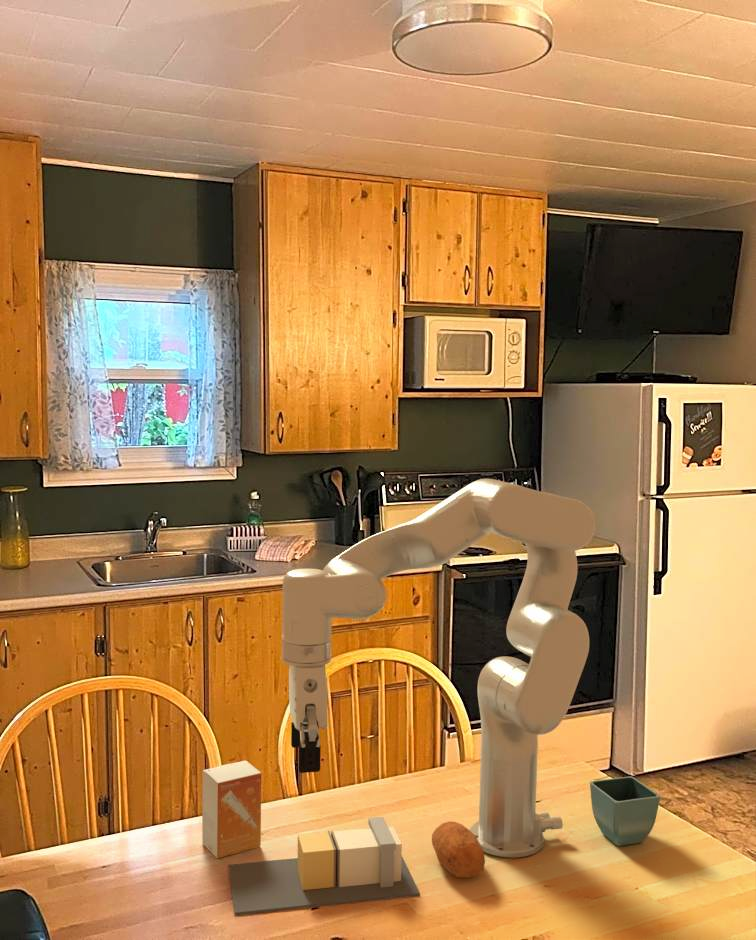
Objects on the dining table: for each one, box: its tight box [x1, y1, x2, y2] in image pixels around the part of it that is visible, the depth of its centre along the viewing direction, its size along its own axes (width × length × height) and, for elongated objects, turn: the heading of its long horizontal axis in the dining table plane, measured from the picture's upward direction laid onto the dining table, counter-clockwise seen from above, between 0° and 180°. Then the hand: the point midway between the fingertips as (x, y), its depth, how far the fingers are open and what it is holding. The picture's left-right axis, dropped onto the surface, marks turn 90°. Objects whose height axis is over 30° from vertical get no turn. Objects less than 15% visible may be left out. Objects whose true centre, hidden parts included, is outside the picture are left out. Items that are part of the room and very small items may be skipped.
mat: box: [228, 854, 421, 916], centre depth 150 cm, size 28×14×1 cm, turn 102°
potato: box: [431, 821, 486, 878], centre depth 155 cm, size 7×13×7 cm, turn 11°
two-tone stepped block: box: [330, 816, 403, 887], centre depth 152 cm, size 10×9×7 cm
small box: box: [201, 760, 262, 859], centre depth 161 cm, size 8×6×13 cm
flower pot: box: [589, 775, 661, 847], centre depth 165 cm, size 9×9×9 cm
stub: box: [297, 830, 336, 890], centre depth 150 cm, size 5×6×6 cm
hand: (305, 758), depth 149 cm, fingers open, 9 cm apart
